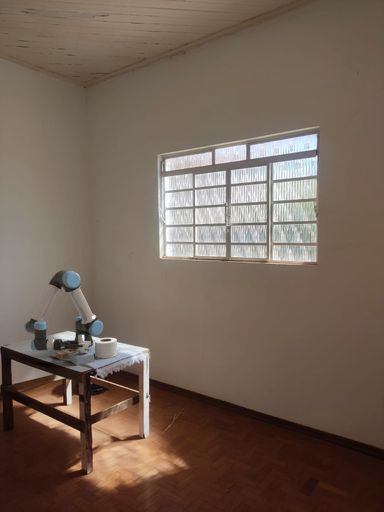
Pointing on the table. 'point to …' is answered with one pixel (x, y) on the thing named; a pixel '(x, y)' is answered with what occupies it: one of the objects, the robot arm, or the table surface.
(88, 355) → the seat block
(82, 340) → the steel axle
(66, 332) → the table surface
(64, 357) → the walnut beam
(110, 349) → the toilet paper roll
